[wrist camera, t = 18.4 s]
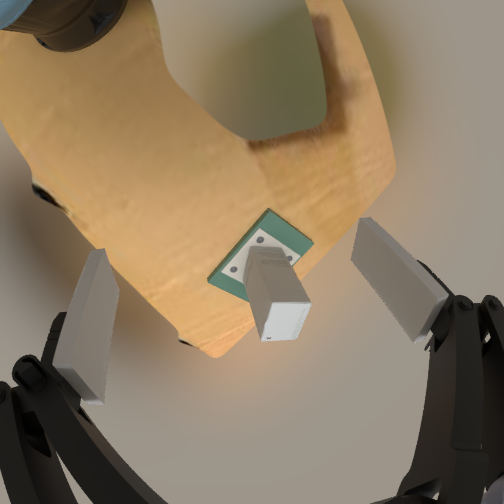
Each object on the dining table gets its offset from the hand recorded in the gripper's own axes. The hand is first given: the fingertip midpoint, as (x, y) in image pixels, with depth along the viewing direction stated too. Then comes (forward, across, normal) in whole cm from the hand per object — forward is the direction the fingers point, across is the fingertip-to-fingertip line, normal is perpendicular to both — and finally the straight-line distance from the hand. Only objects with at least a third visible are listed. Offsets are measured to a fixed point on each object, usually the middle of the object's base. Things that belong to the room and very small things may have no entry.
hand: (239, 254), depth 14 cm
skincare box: (+30, +9, -24) cm, 40 cm away
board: (+32, +9, -24) cm, 41 cm away
